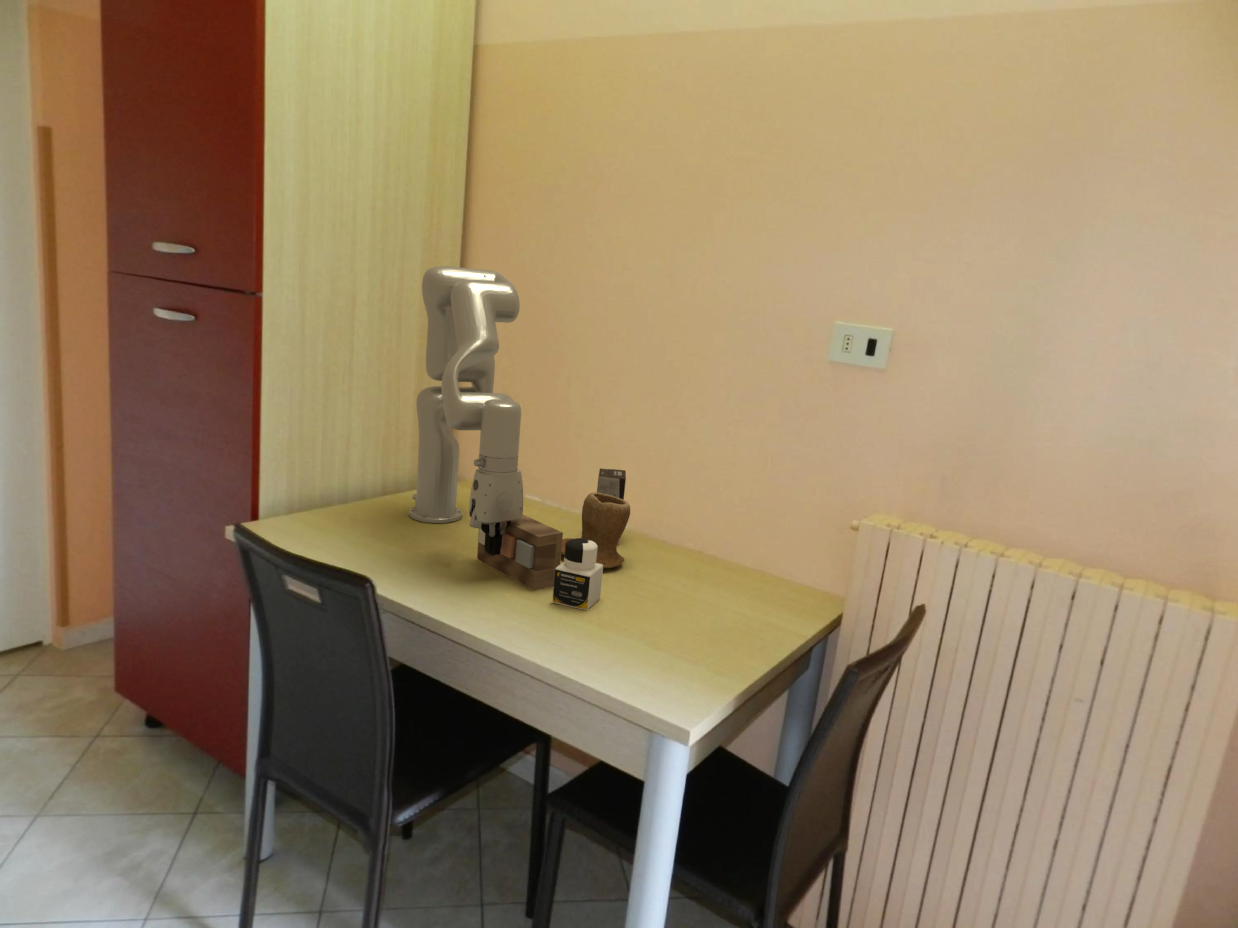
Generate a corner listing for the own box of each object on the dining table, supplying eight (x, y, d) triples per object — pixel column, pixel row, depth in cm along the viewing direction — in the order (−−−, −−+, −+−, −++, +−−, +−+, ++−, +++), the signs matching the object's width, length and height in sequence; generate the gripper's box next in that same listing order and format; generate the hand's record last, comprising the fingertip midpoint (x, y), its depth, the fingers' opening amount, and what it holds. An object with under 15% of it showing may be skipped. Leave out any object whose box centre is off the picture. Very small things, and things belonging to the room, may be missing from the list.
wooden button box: (476, 559, 179) (480, 509, 177) (500, 554, 183) (503, 505, 181) (534, 590, 165) (538, 536, 163) (558, 585, 169) (563, 532, 167)
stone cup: (636, 564, 186) (643, 498, 183) (600, 576, 177) (607, 507, 173) (584, 545, 195) (590, 482, 192) (548, 556, 186) (554, 489, 183)
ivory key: (478, 542, 177) (479, 521, 176) (494, 539, 180) (495, 519, 179) (490, 548, 174) (492, 528, 173) (506, 545, 177) (508, 525, 176)
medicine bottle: (551, 602, 160) (556, 542, 158) (566, 591, 167) (571, 532, 164) (586, 611, 158) (592, 550, 155) (600, 598, 165) (606, 539, 162)
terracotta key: (496, 551, 173) (497, 530, 172) (512, 548, 175) (514, 528, 174) (509, 558, 169) (510, 537, 168) (525, 555, 172) (527, 534, 171)
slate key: (515, 561, 168) (516, 540, 167) (531, 558, 171) (533, 537, 170) (529, 568, 165) (530, 546, 164) (545, 565, 168) (547, 543, 167)
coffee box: (619, 545, 197) (626, 478, 194) (591, 543, 197) (597, 476, 194) (619, 534, 206) (626, 469, 203) (593, 531, 206) (599, 467, 203)
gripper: (475, 470, 158) (469, 564, 162) (540, 465, 167) (534, 553, 171) (454, 462, 163) (449, 552, 167) (519, 456, 173) (513, 542, 177)
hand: (492, 552), depth 169 cm, fingers closed
